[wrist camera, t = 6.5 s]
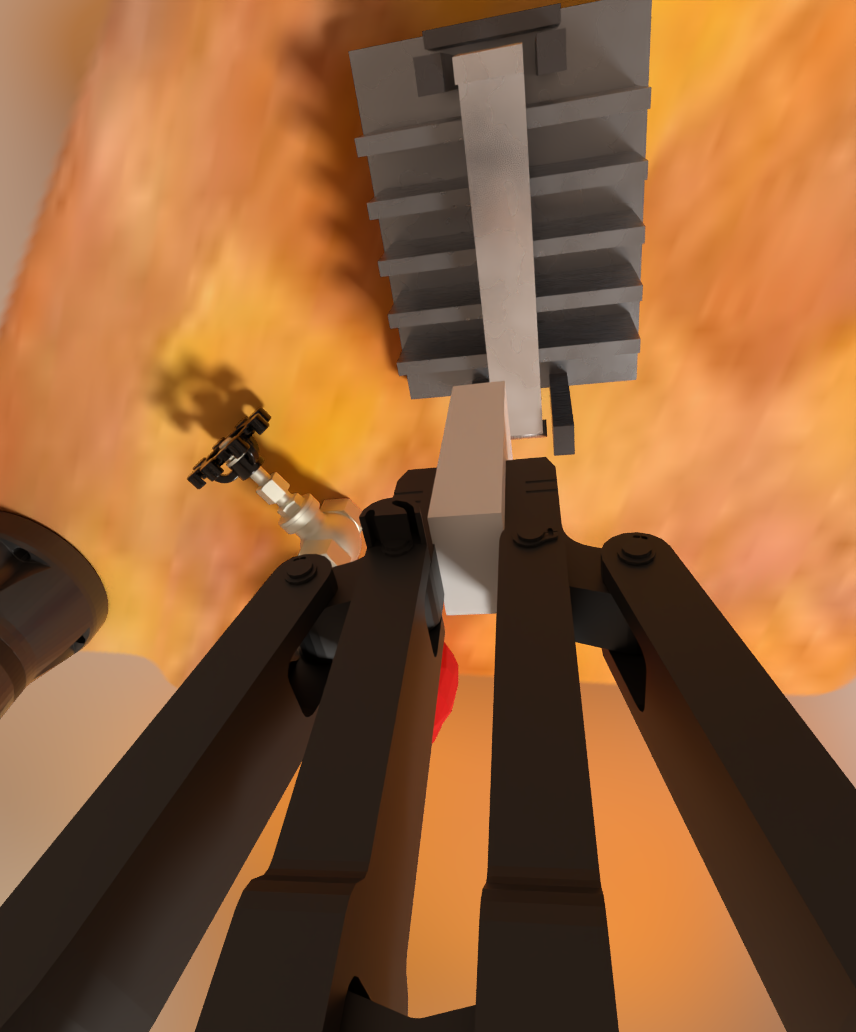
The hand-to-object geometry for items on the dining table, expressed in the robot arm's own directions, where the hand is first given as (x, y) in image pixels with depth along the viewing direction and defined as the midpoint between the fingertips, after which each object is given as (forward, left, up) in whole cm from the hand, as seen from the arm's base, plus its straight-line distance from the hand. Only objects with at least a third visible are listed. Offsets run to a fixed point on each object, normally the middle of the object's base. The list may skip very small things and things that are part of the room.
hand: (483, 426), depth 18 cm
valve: (-15, -13, -20) cm, 28 cm away
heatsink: (0, +2, -20) cm, 20 cm away
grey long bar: (0, +1, -13) cm, 13 cm away
